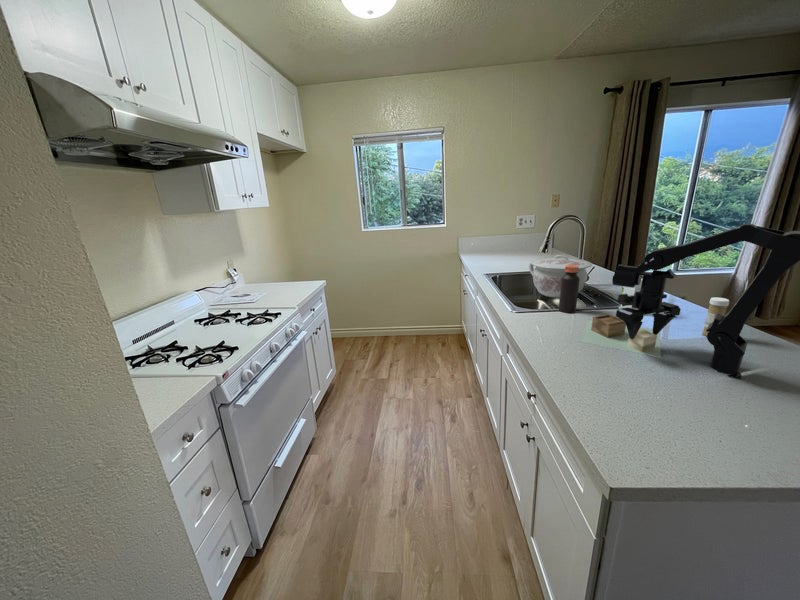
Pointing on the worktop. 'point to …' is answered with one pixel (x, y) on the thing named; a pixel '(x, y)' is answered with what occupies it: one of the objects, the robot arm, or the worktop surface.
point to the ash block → (643, 341)
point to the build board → (617, 341)
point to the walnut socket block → (608, 326)
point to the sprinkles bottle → (715, 311)
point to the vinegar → (569, 290)
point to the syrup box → (630, 293)
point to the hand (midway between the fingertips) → (643, 336)
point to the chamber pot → (555, 273)
